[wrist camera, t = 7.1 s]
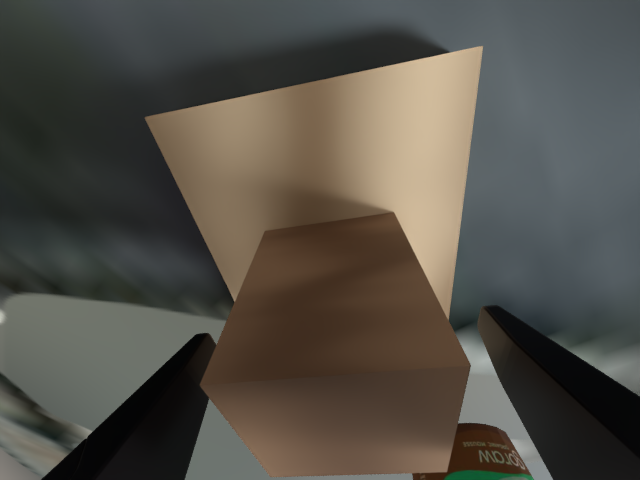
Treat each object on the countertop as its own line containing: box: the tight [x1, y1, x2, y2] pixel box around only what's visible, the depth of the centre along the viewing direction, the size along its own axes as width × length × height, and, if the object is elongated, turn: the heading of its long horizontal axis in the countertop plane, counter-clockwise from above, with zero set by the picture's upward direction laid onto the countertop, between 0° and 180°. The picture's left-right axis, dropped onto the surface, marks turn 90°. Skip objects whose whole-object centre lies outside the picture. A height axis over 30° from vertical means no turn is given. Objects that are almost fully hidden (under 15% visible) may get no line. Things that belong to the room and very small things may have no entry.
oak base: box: [144, 46, 483, 319], centre depth 12 cm, size 10×14×2 cm
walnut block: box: [200, 212, 471, 477], centre depth 8 cm, size 5×5×6 cm
